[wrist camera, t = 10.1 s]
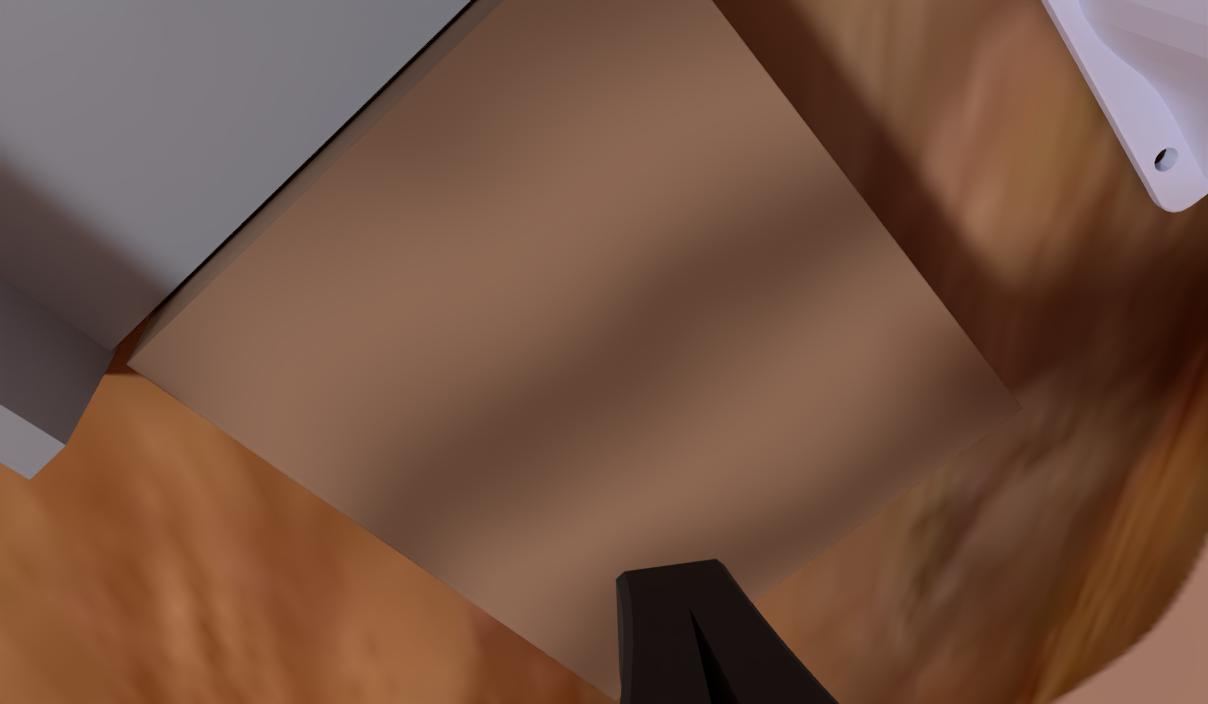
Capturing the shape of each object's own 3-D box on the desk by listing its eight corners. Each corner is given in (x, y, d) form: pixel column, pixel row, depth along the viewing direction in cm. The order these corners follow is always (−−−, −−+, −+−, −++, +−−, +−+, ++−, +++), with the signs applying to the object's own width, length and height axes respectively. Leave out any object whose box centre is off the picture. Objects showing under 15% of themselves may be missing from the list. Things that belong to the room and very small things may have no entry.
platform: (978, 362, 23) (1022, 407, 22) (602, 641, 26) (615, 700, 24) (603, -126, 17) (623, -116, 15) (152, 313, 20) (126, 364, 18)
